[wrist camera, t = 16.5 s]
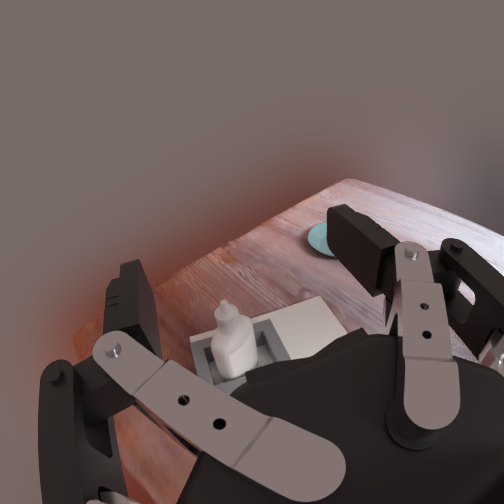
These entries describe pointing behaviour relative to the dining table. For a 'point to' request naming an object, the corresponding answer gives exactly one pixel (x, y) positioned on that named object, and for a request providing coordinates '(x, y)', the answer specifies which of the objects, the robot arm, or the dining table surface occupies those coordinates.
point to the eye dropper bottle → (233, 343)
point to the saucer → (319, 239)
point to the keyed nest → (274, 339)
